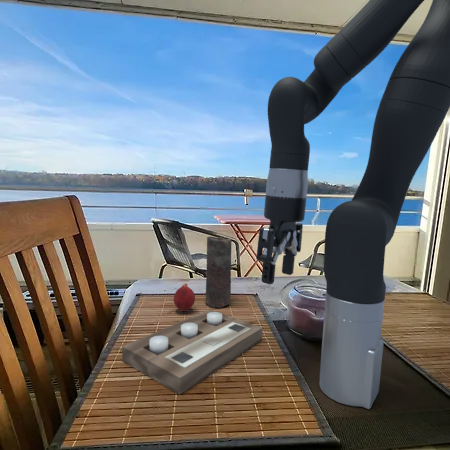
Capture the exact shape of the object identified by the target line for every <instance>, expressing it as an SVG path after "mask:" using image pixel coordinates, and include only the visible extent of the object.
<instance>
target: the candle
mask: <svg viewBox="0 0 450 450" xmlns="http://www.w3.org/2000/svg"><path fill="white" fill-rule="evenodd" d="M205 277H206V279H205V280H206V281H205V302H206V304H207V305H208V307H210V308H213V309H215V308H223V307H225V306H228V305H230V303H231V300H232V299H231V298H232V297H231V296H232V295H231V294H232V293H231V291H232V290H231V289H232V287H231V286H232V238H224V237H222V236H221V237H217V236H207V237H206V275H205Z"/></svg>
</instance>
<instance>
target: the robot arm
mask: <svg viewBox="0 0 450 450" xmlns="http://www.w3.org/2000/svg"><path fill="white" fill-rule="evenodd" d="M424 2H425V0H368V1H367V3H366V4H365V5H363V6H362V8H361V9H359V11H358V12H357V13H356V14H355V15H354V16H353V17H352V18H351V19H350V20H349V21H348V22H347V23H346V24H345V25H344V26H343V27H342V28H341V29H339V31H338V32H337V33H335V35H334V36H333V37H332V38H331V39H330V40H329V41H328V42H327V43H326V44H324V46H323V47H321V49H320V50H319V51H318V52H317V53H316V54H315V56H314V58H313V66H314V68H313V70H312V72H311V73H310V74H309V75H308V76H307V78H306V79H305V80H304V81H303V80H301V79H299V78H297V77H294V76H285V77H283V78H280V79H279V80H278V81H277V82H276V83H275V84H274V85H273V87H272V88H271V91H270V93H269V96H268V101H267V121H268V130H269V138H270V143H271V144H270V145H271V147H270V148H271V149H270V157H269V166H268V167H269V169H268V174H267V180H266V185H265V187H266V188H265V199H264V209H263V217H264V218H265V219H267V220H269V226H268V227H263V226H261V227H259V230H258V231H259V234H258V238H257V239H258V241H257V249H256V261H258V262H261V263H262V270H261V282H262V283H264V284H267V285H273V284H274V282H275V275H276V274H275V273H276V263H277V260H278V258H279V256H281V255H282V254H283V257H282V264H281V272H282V274H283V275H288V276H292V275H293V274H294V268H295V259H296V258H295V257H297V255H298V253H300V252H301V251H302V250H301V249H302V239H303V229H304V228H303V226H304V225H303V223H300V222H303V221H304V220H305V215H306V214H305V213H306V206H307V198H308V197H307V196H308V185H309V178H308V176H309V175H308V174H309V172H308V171H309V164H310V163H309V162H310V152H311V144H310V142H309V140H308V138H307V137H306V135H305V125H307V124H310V123H311V122H312V121H314V120H315V119H316V118H317V117H319V116H320V115H321V114H322V113H323V112H324V111H325V110H326V108H327V107H328V106H329V105H330V104H331V102H333V100H334V99H335V98H336V96H337V95H338V94H339V92H340V91H341V90H342V89H343V87H344V86H346V84H348V83H349V82H350V81H351V80H352V79H354V78H355V77H356V76H357V75H358V74H359V73H361V72H362V71H363V70H364V69H366V67H367V66H368V65H370V64H371V63H372V62H373V61H374V60H375V59H377V57H378V56H380V55H381V54H382V53H383V51H384V50H385V49H387V47H388V46H389V44H390V43H391V42H392V41H393V40H394V39H395V37H396V36H397V34H399V32H400V30H402V28H403V26H404V25H405V24H406V23H407V21H409V19H410V18H411V16H412V15H413V14H414V13H415V11H416V10H417V9H418V8H419V7H420V6H421V5H422V4H423V3H424ZM400 55H401V56H400V57H399V59H398V61H397V62H396V64H395V66H394V68H393V70H392V72H391V74H390V76H389V79H388V81H387V83H386V87H385V89H384V92H383V94H382V97H381V99H380V102H379V105H378V108H377V111H376V114H375V118H374V124H373V126H372V127H373V128H372V135H371V141H370V147H369V149H370V150H369V155H368V160H367V165H366V168H365V170H364V171H365V172H364V173H363V176H362V178H361V181H360V182H359V185H358V186H357V188H356V191H355V193H354V195H353V197H352V199H351V200H347V201H344V202H343V203H340V204H339V205H337V206H335V208H333V210H332V211H331V213H330V214H329V217H328V218H327V221H326V226H325V233H324V234H325V235H324V251H323V252H324V253H323V260H324V261H323V275H324V278H325V283H326V289H325V290H326V291H325V299H324V300H325V302H324V314H323V317H324V318H323V326H322V327H323V328H322V340H321V341H322V342H321V352H320V353H321V357H320V368H319V369H320V370H319V388H320V390H321V391H322V392H323V394H325V395H326V396H327V397H328V398H329V399H331V400H333V401H335V402H337V403H340V404H343V405H346V406H351V407H360V408H361V407H362V408H365V409H368V410H370V409H371V407H372V406H373V403H374V401H375V400H376V399H377V396H378V395H379V392H380V382H381V374H382V363H383V362H382V360H383V352H384V340H383V339H382V330H383V320H384V310H385V308H384V307H385V298H386V293H387V290H386V289H387V287H386V286H387V285H386V282H385V279H384V270H385V269H384V268H385V257H386V246H387V245H388V244H390V242H391V241H392V239H393V237H394V235H395V231H396V228H397V224H398V221H399V219H400V215H401V213H402V212H401V211H402V208H403V205H404V203H405V200H406V196H407V194H408V191H409V188H410V185H411V183H412V181H413V179H414V177H415V175H416V173H417V171H418V169H419V168H420V166H421V164H422V163H423V160H424V159H425V157H426V155H427V154H428V152H429V149H430V147H431V146H432V143H433V142H434V140H435V138H436V136H437V133H439V130H440V128H441V126H442V124H443V122H444V120H445V118H446V116H447V115H448V112H449V109H450V0H432V1H431V4H430V7H429V9H428V12H427V14H426V17H425V19H424V21H423V22H422V24H421V26H420V27H419V29H418V31H417V32H416V34H415V35H414V36H413V38H412V39H411V41H410V42H409V43H408V45H407V47H406V48H405V49H404V50H403V53H401V54H400Z"/></svg>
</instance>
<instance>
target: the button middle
mask: <svg viewBox="0 0 450 450" xmlns="http://www.w3.org/2000/svg"><path fill="white" fill-rule="evenodd" d="M181 336H183V337H185V338H187V339H192V338H194V337H196V336H198V325H197V324H195V323H184V324H182V325H181Z"/></svg>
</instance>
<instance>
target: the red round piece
mask: <svg viewBox="0 0 450 450" xmlns="http://www.w3.org/2000/svg"><path fill="white" fill-rule="evenodd" d="M195 302H196V296H195V292H194V291H193V289H191V288H190V287H189V286H188V284H187V283H186V282H184V283H183V284H182V285H181V287H179V288H177V289H176V291H175V292H174V297H173V303H174V305H175V307H176V308H177V309H178V310H180V311H181V312H184V313H185V312H187V311H188V310H190V309H191V308H192V307H193V306H194V304H195Z"/></svg>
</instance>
